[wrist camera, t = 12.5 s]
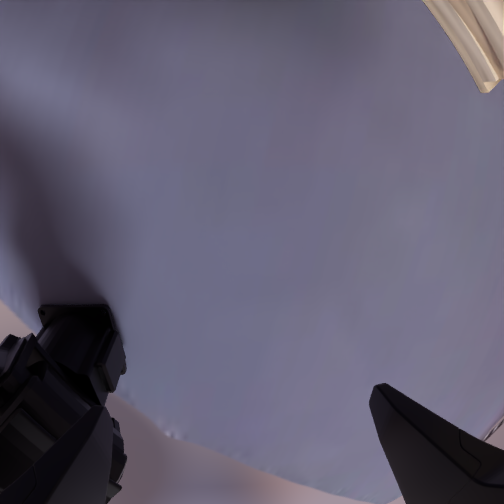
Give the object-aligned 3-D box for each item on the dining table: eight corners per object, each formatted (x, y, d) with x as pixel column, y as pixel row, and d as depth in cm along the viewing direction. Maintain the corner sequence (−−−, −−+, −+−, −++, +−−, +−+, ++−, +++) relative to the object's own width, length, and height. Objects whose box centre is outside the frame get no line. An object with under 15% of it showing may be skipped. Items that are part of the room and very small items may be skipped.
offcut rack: (479, 94, 19) (561, 96, 10) (387, -37, 14) (453, -83, 6) (515, 57, 17) (584, 54, 9) (440, -56, 13) (499, -87, 5)
